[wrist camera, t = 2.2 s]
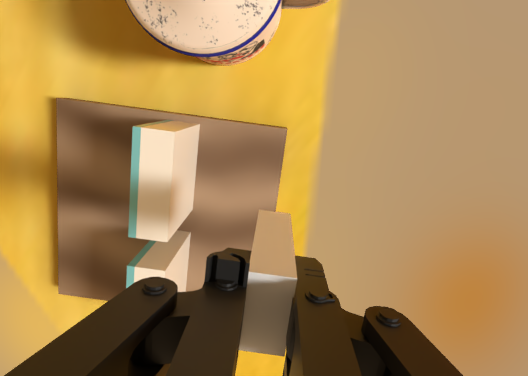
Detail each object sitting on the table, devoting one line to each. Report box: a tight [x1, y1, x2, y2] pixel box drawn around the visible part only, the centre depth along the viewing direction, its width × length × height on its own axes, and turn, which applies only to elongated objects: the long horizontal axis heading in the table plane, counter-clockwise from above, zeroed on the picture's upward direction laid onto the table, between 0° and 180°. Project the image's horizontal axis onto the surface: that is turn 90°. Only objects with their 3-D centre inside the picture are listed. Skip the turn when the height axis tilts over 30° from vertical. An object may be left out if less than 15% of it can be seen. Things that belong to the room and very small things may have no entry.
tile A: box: [128, 120, 200, 242], centre depth 25 cm, size 7×2×7 cm, turn 173°
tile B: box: [126, 230, 191, 292], centre depth 28 cm, size 7×2×7 cm, turn 173°
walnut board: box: [57, 98, 287, 301], centre depth 31 cm, size 17×18×2 cm
